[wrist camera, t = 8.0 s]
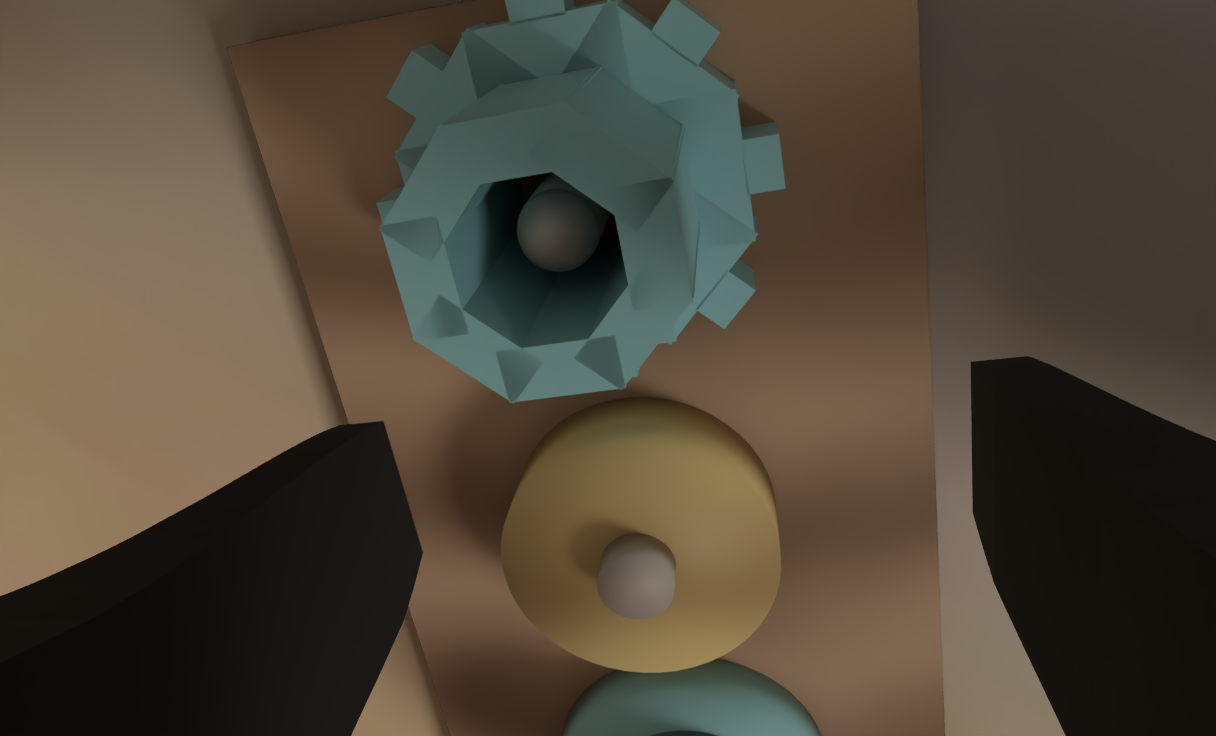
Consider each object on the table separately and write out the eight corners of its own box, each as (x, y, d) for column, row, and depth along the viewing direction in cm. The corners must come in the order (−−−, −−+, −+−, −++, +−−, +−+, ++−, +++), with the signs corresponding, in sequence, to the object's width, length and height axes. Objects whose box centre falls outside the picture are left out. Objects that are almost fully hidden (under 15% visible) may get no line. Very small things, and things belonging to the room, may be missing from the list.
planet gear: (753, -71, 16) (764, -74, 11) (800, 331, 19) (825, 458, 14) (346, 15, 18) (209, 44, 13) (451, 378, 21) (370, 507, 16)
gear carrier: (250, 42, 19) (24, 92, 13) (904, -82, 17) (1008, -94, 11) (497, 827, 28) (434, 1075, 22) (941, 817, 26) (1008, 1089, 20)
